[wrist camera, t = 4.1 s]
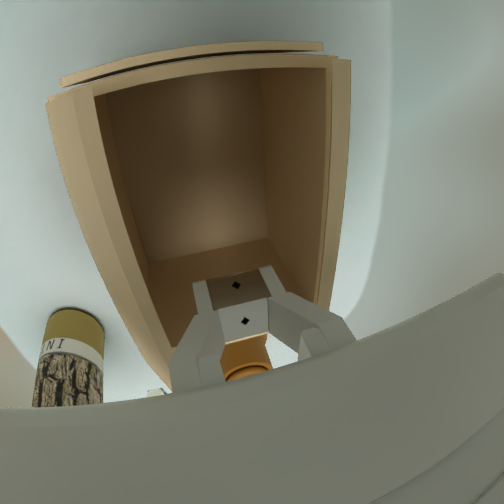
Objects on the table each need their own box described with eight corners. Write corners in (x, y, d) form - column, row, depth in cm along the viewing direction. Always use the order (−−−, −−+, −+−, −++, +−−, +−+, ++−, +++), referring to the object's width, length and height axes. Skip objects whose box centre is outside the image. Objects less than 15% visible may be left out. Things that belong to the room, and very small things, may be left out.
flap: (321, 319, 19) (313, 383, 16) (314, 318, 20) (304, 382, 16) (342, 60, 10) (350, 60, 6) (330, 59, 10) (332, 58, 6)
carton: (96, 76, 16) (44, 84, 8) (265, 49, 18) (339, 43, 10) (145, 271, 26) (149, 363, 18) (273, 243, 28) (319, 320, 20)
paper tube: (114, 322, 28) (141, 574, 9) (92, 354, 30) (110, 565, 11) (57, 296, 24) (45, 567, 5) (41, 333, 26) (34, 556, 7)
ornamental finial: (266, 339, 37) (210, 357, 36) (257, 301, 32) (192, 322, 31) (288, 392, 31) (224, 412, 30) (283, 360, 26) (205, 384, 25)
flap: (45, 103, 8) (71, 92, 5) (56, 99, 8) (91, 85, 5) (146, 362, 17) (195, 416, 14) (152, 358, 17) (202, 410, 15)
